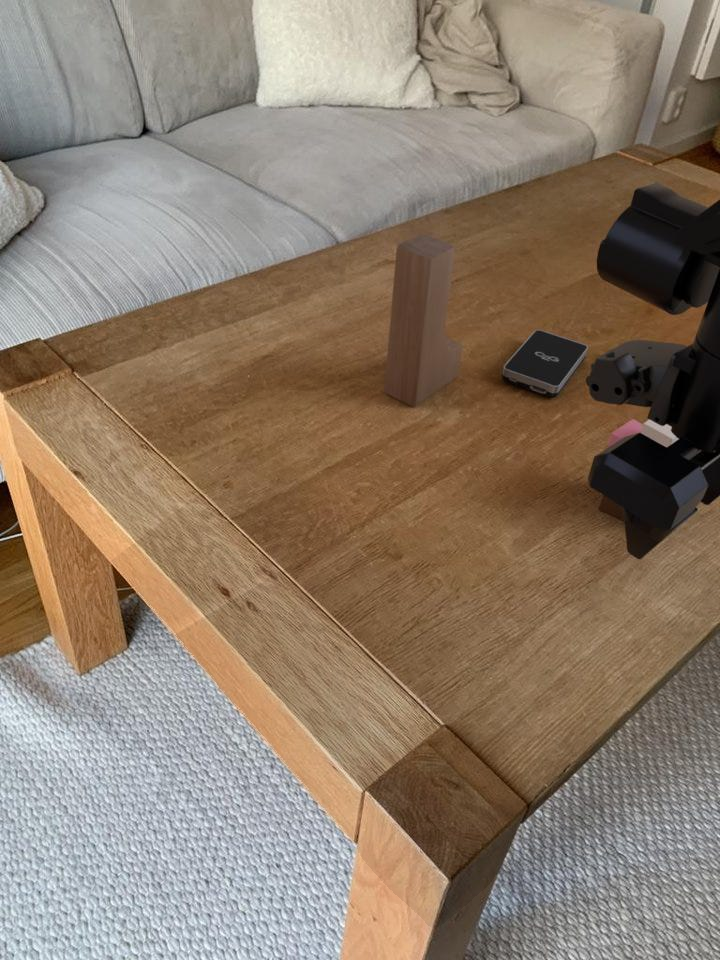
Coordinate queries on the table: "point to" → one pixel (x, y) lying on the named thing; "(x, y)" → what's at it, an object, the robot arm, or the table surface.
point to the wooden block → (421, 321)
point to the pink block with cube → (644, 432)
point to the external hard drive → (544, 363)
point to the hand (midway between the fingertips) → (669, 527)
